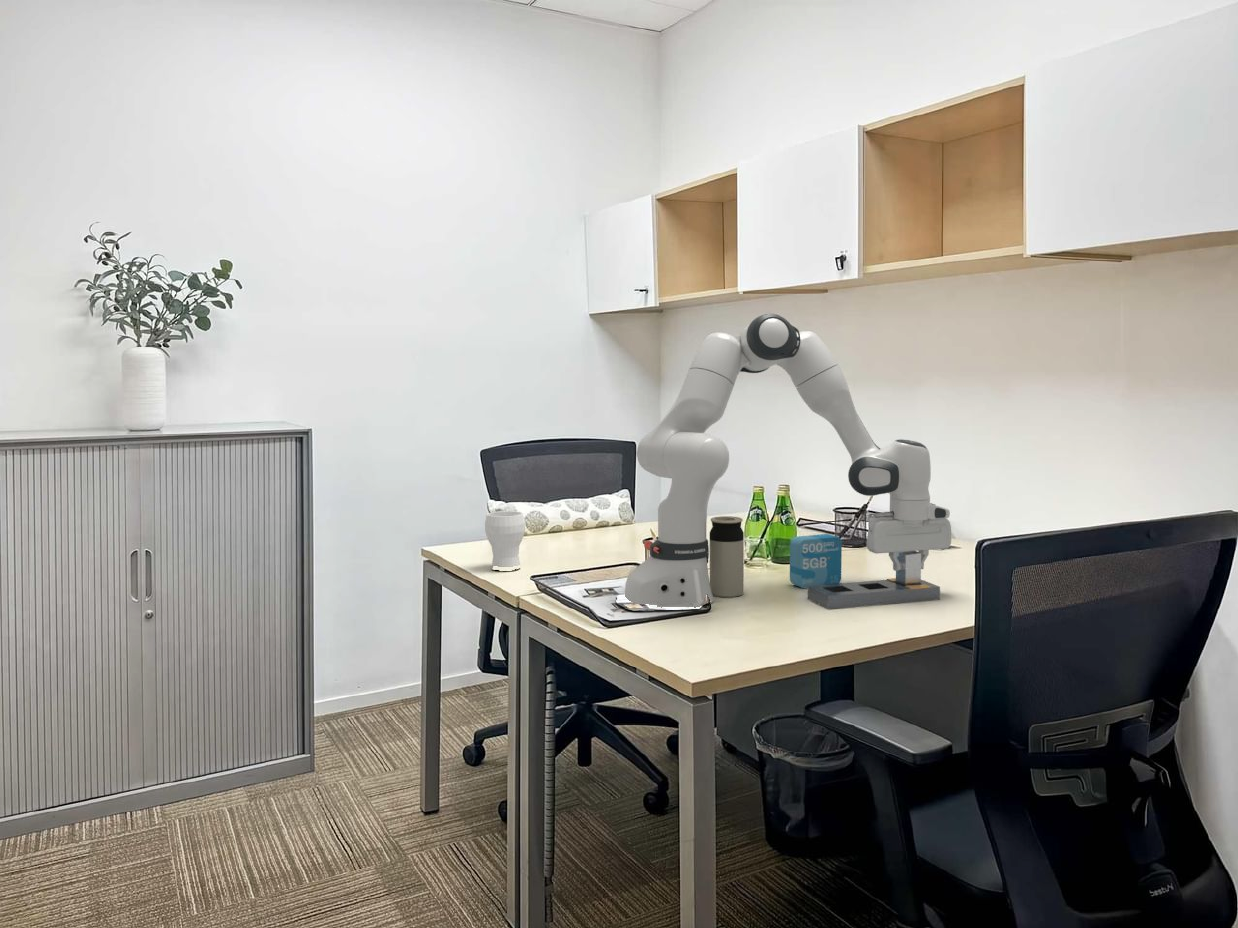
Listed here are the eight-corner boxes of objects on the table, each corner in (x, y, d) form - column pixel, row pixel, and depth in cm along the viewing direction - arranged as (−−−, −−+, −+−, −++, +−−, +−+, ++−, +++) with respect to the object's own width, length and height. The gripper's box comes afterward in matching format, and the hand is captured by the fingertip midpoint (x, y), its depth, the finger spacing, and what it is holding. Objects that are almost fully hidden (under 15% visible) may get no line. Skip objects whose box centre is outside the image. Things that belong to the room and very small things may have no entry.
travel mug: (717, 599, 219) (716, 522, 217) (704, 591, 227) (704, 517, 225) (748, 596, 221) (749, 520, 219) (735, 588, 229) (735, 515, 227)
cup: (530, 571, 251) (529, 515, 250) (491, 574, 248) (490, 518, 246) (519, 563, 261) (518, 509, 260) (482, 566, 257) (480, 512, 256)
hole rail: (827, 609, 209) (828, 594, 208) (807, 598, 218) (807, 584, 218) (939, 599, 216) (940, 585, 216) (915, 589, 226) (915, 576, 225)
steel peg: (905, 593, 217) (905, 555, 216) (895, 588, 221) (896, 550, 220) (920, 591, 218) (921, 553, 217) (910, 586, 222) (911, 549, 221)
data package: (798, 589, 228) (799, 539, 227) (789, 585, 232) (789, 536, 231) (841, 584, 232) (842, 536, 231) (831, 580, 236) (831, 533, 235)
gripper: (876, 515, 212) (875, 575, 213) (956, 510, 217) (954, 569, 218) (861, 510, 218) (860, 569, 219) (940, 506, 223) (938, 564, 225)
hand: (908, 569), depth 219 cm, fingers closed on steel peg, 4 cm apart
